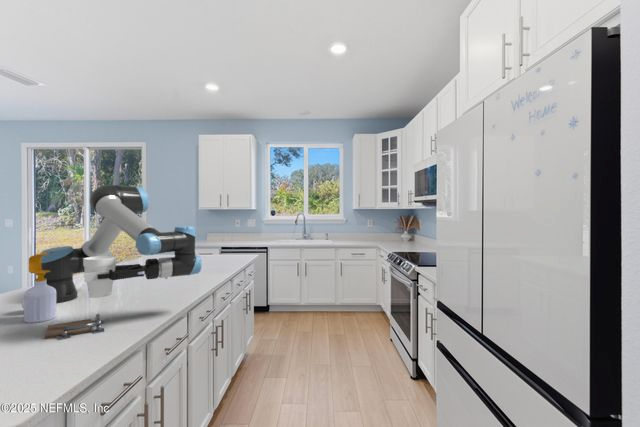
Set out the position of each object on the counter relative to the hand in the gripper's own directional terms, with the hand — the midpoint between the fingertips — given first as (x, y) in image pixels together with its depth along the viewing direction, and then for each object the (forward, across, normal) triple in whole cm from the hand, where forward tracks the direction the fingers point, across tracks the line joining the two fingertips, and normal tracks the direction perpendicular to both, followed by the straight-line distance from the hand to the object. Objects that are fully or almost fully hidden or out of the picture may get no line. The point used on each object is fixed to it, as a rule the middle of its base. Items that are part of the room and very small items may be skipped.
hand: (84, 275), depth 108 cm
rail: (+1, +2, -19) cm, 19 cm away
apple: (+16, +36, -19) cm, 43 cm away
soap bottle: (+13, +24, -19) cm, 33 cm away
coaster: (+4, +5, -19) cm, 20 cm away
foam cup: (-4, 0, -8) cm, 9 cm away
